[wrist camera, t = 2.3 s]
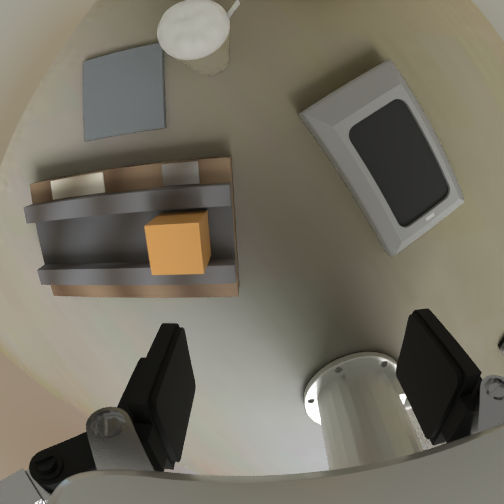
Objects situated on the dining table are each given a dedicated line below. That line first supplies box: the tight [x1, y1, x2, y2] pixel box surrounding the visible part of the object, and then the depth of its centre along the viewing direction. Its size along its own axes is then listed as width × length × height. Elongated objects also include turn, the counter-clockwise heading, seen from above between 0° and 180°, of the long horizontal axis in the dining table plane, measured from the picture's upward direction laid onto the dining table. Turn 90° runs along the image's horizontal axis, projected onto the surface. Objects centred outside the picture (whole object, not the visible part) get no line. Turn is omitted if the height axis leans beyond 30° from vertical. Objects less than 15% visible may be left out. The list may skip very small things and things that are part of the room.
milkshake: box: [157, 0, 241, 76], centre depth 18 cm, size 4×5×10 cm
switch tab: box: [144, 210, 211, 275], centre depth 24 cm, size 4×4×4 cm
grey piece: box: [24, 156, 239, 298], centre depth 26 cm, size 20×12×4 cm, turn 92°
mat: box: [83, 43, 166, 141], centre depth 23 cm, size 8×8×1 cm
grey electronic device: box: [298, 59, 465, 257], centre depth 24 cm, size 10×4×15 cm
